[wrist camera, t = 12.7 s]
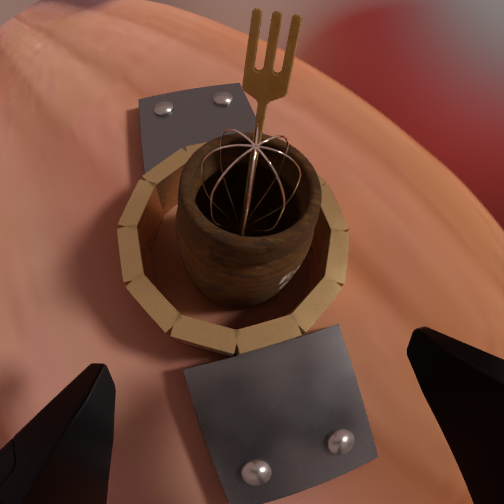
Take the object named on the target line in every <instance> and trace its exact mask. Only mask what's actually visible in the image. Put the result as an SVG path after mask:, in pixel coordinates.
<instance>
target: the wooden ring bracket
mask: <svg viewBox="0 0 504 504" xmlns="http://www.w3.org/2000/svg"><path fill="white" fill-rule="evenodd" d="M139 115H140V129H141V141H142V152H143V162H144V171H145V174H144V175H143V176H142V177H143V180H140V179H139V181H138V183H137V185H136V187H135V189H134V191H133V193H132V195H131V197H130V199H129V201H128V203H127V205H126V207H125V209H124V212H123V214H122V216H121V218H120V220H119V222H118V226H119V227H120V228H118V229H117V235H118V245H119V253H120V261H121V269H122V276H123V282H124V283H125V284H126V285H127V286H126V288H127V289H128V291H129V292H130V293H131V294H132V295H133V297H134V298H135V299H136V300H137V301H138V302H139V304H140V305H141V306H142V307H143V308H144V309H145V311H146V312H147V313H148V314H149V315H150V316H151V317H152V318H153V320H154V321H155V322H156V323H157V324H158V325H159V326H160V327H161V328H162V330H163V331H164V332H165V333H166V334H168V335H169V336H171V337H172V338H174V339H175V340H177V341H178V342H180V343H183V344H187V345H190V346H194V347H197V348H201V349H204V350H208V351H211V352H215V353H219V354H223V355H226V356H230V357H231V356H232V355H233V354H234V352H235V355H236V356H235V357H231V358H227V359H223V360H220V361H216V362H212V363H208V364H204V365H199V366H195V367H191V368H187V369H183V372H184V375H185V379H186V382H187V386H188V389H189V392H190V396H191V399H192V402H193V406H194V409H195V412H196V415H197V418H198V421H199V424H200V427H201V430H202V433H203V436H204V439H205V442H206V445H207V448H208V451H209V453H210V456H211V459H212V461H213V464H214V467H215V469H216V472H217V475H218V477H219V480H220V482H221V485H222V487H223V490H224V492H225V495H226V497H227V499H228V502H229V504H263V503H267V502H270V501H273V500H277V499H280V498H283V497H286V496H289V495H292V494H295V493H298V492H301V491H303V490H306V489H309V488H311V487H314V486H316V485H319V484H321V483H324V482H326V481H329V480H331V479H333V478H336V477H338V476H340V475H342V474H345V473H347V472H349V471H351V470H353V469H355V468H357V467H359V466H361V465H363V464H365V463H367V462H369V461H371V460H373V459H375V458H377V457H378V455H377V451H376V447H375V443H374V439H373V436H372V432H371V428H370V425H369V421H368V418H367V414H366V411H365V407H364V404H363V400H362V397H361V393H360V390H359V387H358V383H357V380H356V377H355V374H354V371H353V367H352V364H351V361H350V358H349V355H348V352H347V349H346V345H345V342H344V339H343V336H342V333H341V330H340V327H339V324H336V325H334V326H331V327H328V328H325V329H322V330H319V331H317V332H314V333H311V334H308V335H305V336H302V337H299V336H301V334H303V333H306V332H307V331H308V329H309V328H310V327H311V326H312V325H313V324H314V322H315V321H316V320H317V319H318V318H319V317H320V315H321V314H322V313H323V312H324V311H325V309H326V308H327V307H328V306H329V305H330V303H331V302H332V301H333V300H334V299H335V297H336V296H337V295H338V294H339V292H340V291H341V290H342V289H343V288H342V287H341V286H343V285H344V284H345V276H346V268H347V259H348V250H349V240H350V233H348V232H347V231H348V230H349V227H348V225H347V222H346V220H345V218H344V216H343V213H342V211H341V209H340V207H339V205H338V203H337V200H336V198H335V196H334V194H333V192H332V190H331V188H330V186H329V185H325V183H326V181H325V180H324V179H323V178H322V177H320V176H319V175H318V174H317V175H318V178H319V181H320V185H321V191H322V201H321V207H320V212H319V216H318V220H317V223H316V225H315V227H314V233H313V239H312V242H311V247H312V250H313V252H314V256H313V262H312V268H311V274H310V279H309V285H308V290H307V293H306V295H305V296H304V297H303V298H302V299H301V300H300V301H299V302H298V303H297V305H296V306H295V307H294V308H293V309H292V310H291V311H290V312H289V313H288V314H287V316H284V317H280V318H277V319H273V320H270V321H266V322H263V323H259V324H256V325H252V326H249V327H245V328H241V329H238V330H235V329H232V328H228V327H224V326H220V325H217V324H213V323H209V322H206V321H202V320H199V319H195V318H192V317H188V316H185V315H181V314H180V313H179V312H178V311H177V310H176V309H175V308H174V307H173V306H172V305H171V304H170V303H169V302H168V301H167V299H166V298H165V297H164V296H163V295H162V294H161V293H160V292H159V291H158V290H157V288H156V285H155V280H154V274H153V269H152V263H151V258H150V252H149V251H150V248H151V245H152V243H153V240H154V238H155V235H156V233H157V230H158V228H159V225H160V223H161V220H162V218H163V215H164V214H165V213H166V212H167V211H169V210H170V209H171V208H172V207H174V206H175V205H176V204H177V203H178V188H179V182H180V177H181V173H182V171H183V168H184V166H185V164H186V162H187V161H188V159H189V158H190V157H191V156H192V154H193V153H194V152H195V151H196V150H197V149H199V148H200V147H201V146H203V145H204V144H206V143H207V142H209V141H211V140H213V139H215V138H218V137H221V135H222V133H223V132H224V131H225V130H227V129H235V130H238V131H240V132H241V133H243V132H249V133H254V127H255V120H256V117H255V115H254V112H253V110H252V108H251V106H250V104H249V102H248V100H247V98H246V95H245V93H244V91H243V89H242V87H241V85H240V83H234V84H225V85H216V86H209V87H202V88H195V89H189V90H183V91H177V92H172V93H166V94H161V95H157V96H152V97H147V98H143V99H139ZM233 133H237V132H234V131H227V132H225V134H224V135H228V134H233ZM262 134H263V132H262ZM224 135H223V136H224ZM296 337H299V338H296ZM294 338H295V339H294Z"/></svg>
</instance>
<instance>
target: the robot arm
mask: <svg viewBox="0 0 504 504" xmlns="http://www.w3.org/2000/svg"><path fill="white" fill-rule="evenodd" d="M407 356H408V359H409V361H410V363H411V366H412V368H413V370H414V373H415V375H416V378H417V380H418V382H419V385H420V387H421V390H422V392H423V394H424V396H425V398H426V400H427V402H428V404H429V406H430V408H431V410H432V412H433V414H434V416H435V418H436V420H437V422H438V424H439V426H440V428H441V430H442V432H443V434H444V436H445V438H446V440H447V442H448V444H449V447H450V449H451V451H452V453H453V455H454V457H455V460H456V462H457V464H458V466H459V469H460V471H461V473H462V476H463V478H464V480H465V483H466V485H467V487H468V490H469V493H470V495H471V498H472V501H473V503H474V504H504V360H503V359H501V358H498V357H496V356H494V355H491V354H489V353H487V352H484V351H482V350H480V349H477V348H475V347H473V346H470V345H468V344H466V343H463V342H461V341H459V340H456V339H454V338H452V337H449V336H447V335H444V334H442V333H440V332H437V331H435V330H433V329H430V328H428V327H421V328H417V329H415V330H414V331H413V333H412V336H411V339H410V342H409V345H408V347H407ZM115 394H116V390H115V384H114V382H113V379H112V377H111V375H110V372H109V370H108V368H107V366H106V365H105V364H101V363H92V364H90V365H89V366H88V367H87V368H86V369H85V370H84V371H83V372H81V373H80V374H79V375H78V376H77V377H76V378H75V379H74V380H73V381H72V382H71V383H70V384H69V385H67V386H66V387H65V388H64V389H63V390H62V391H61V392H60V393H59V394H58V395H57V396H56V397H55V398H54V399H53V400H52V401H51V402H49V403H48V404H47V405H46V406H45V407H44V408H43V409H42V410H41V411H40V412H39V413H38V414H37V415H36V416H35V417H34V418H33V419H32V420H31V421H30V422H29V423H28V424H27V425H25V426H24V427H23V428H22V429H21V430H20V431H19V432H18V433H17V434H16V435H15V436H14V438H13V439H11V440H10V441H9V442H8V443H7V444H6V445H5V446H4V447H3V448H2V449H1V450H0V504H107V491H108V480H109V471H110V462H111V454H112V446H113V437H114V411H115Z"/></svg>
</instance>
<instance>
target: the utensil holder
mask: <svg viewBox="0 0 504 504" xmlns="http://www.w3.org/2000/svg"><path fill="white" fill-rule="evenodd" d="M261 19H262V11H261V9H257V8H255V9H254V10H253V11H252V18H251V25H250V32H249V39H248V46H247V54H246V62H245V69H244V77H243V85H242V87H243V90H244V91H245V92H246V93H248V94H249V95H251V96H252V97H253V98H255V99H256V100H257V102H258V107H257V114H256V120H255V127H254V133H249V132H243V133H241V132H240V131H238V130H235V129H227V130H225V131H224V132H223V133H222V135H221V137H218V138H215V139H213V140H211V141H209V142H207V143H206V144H204V145H203V146H201V147H200V148H199V149H197V150H196V151H195V152H194V153H193V154H192V156H191V157H190V158H189V159H188V161H187V162H186V164H185V166H184V168H183V171H182V173H181V177H180V182H179V188H178V208H177V213H176V233H177V239H178V244H179V248H180V252H181V255H182V258H183V262H184V264H185V267H186V270H187V272H188V274H189V276H190V278H191V280H192V281H193V283H194V284H195V286H196V287H197V288H198V289H199V290H200V291H201V292H202V293H203V294H204V295H205V296H207V297H208V298H210V299H211V300H213V301H215V302H217V303H220V304H223V305H226V306H230V307H250V306H255V305H258V304H261V303H263V302H266V301H267V300H269V299H271V298H272V297H274V296H275V295H276V294H278V293H279V292H280V291H281V290H282V289H283V288H284V287H285V286H286V284H287V283H288V282H289V281H290V279H291V278H292V277H293V275H294V274H295V272H296V271H297V270H298V268H299V267H300V265H301V264H302V262H303V260H304V259H305V257H306V255H307V253H308V251H309V248H310V245H311V242H312V239H313V233H314V227H315V225H316V223H317V220H318V216H319V212H320V207H321V201H322V191H321V185H320V181H319V178H318V175H317V173H316V171H315V169H314V168H313V166H312V164H311V163H310V162H309V161H308V159H307V158H306V157H305V156H304V155H303V154H302V153H301V152H300V151H298V150H297V149H296V148H294V147H293V146H291V145H290V144H289V141H288V139H287V137H285V136H282V135H278V136H273V137H272V136H269V135H265V134H262V131H263V125H264V119H265V113H266V107H267V104H268V103H269V102H270V101H273V100H276V99H279V98H282V97H284V96H285V95H286V94H287V92H288V87H289V82H290V77H291V72H292V67H293V62H294V57H295V52H296V47H297V42H298V37H299V32H300V27H301V22H302V17H301V16H300V15H297V14H295V15H293V17H292V21H291V26H290V31H289V36H288V41H287V46H286V51H285V57H284V62H283V67H282V71H281V72H279V73H277V72H274V70H273V66H274V60H275V55H276V49H277V43H278V37H279V31H280V26H281V19H282V13H281V12H280V11H275V12H274V13H273V14H272V19H271V25H270V31H269V38H268V43H267V50H266V56H265V62H264V68H263V69H262V70H257V69H256V68H255V67H254V66H255V59H256V52H257V45H258V38H259V31H260V25H261ZM227 131H234V132H237V133H233V134H228V135H224V134H225V132H227ZM223 135H224V136H223ZM279 137H282V138H285V139H286V141H287V143H286V142H284V141H282V140H280V139H278V138H279Z"/></svg>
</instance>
